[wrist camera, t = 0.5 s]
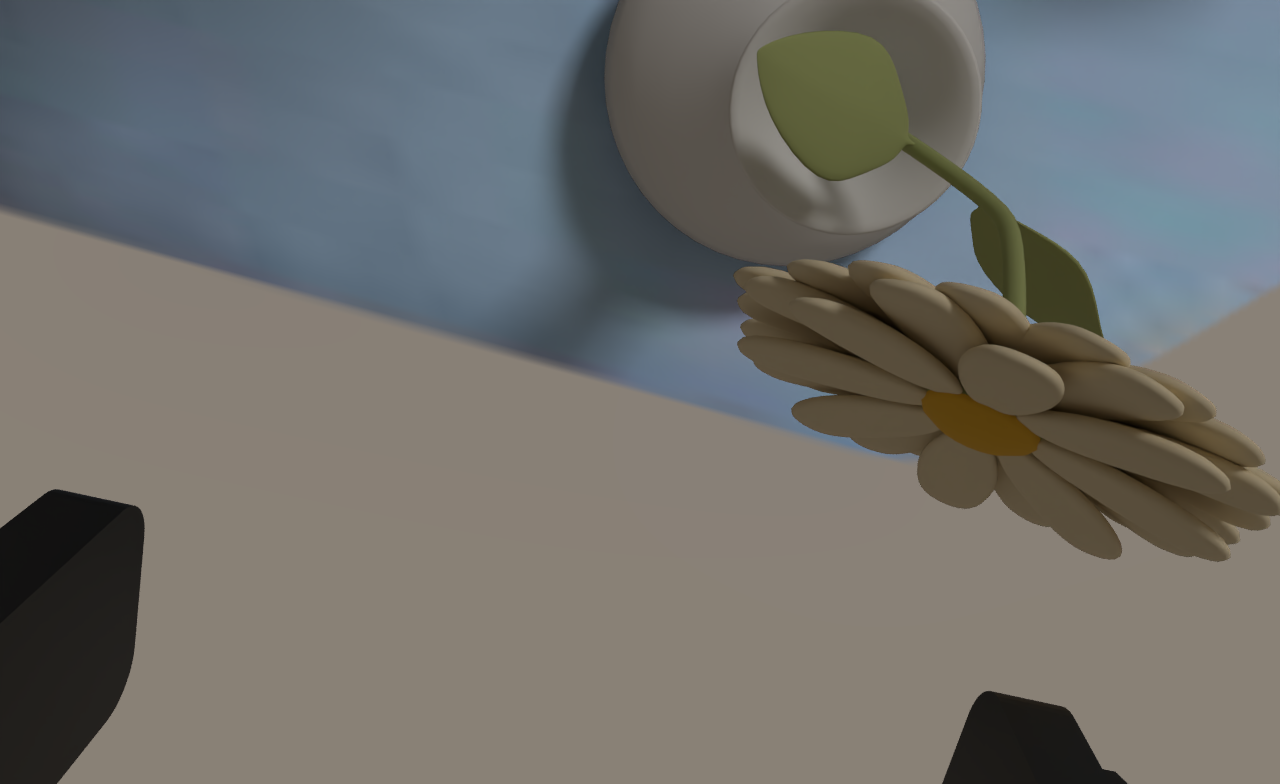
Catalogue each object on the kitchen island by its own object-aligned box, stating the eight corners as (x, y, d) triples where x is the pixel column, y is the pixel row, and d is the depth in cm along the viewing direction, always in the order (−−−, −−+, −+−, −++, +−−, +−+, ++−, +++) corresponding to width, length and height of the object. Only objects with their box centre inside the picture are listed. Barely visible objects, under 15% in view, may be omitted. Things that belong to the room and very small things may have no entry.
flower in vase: (534, 39, 35) (251, 81, 12) (837, -207, 33) (1254, -783, 9) (773, 359, 38) (934, 908, 15) (1067, 156, 36) (1823, 418, 12)
